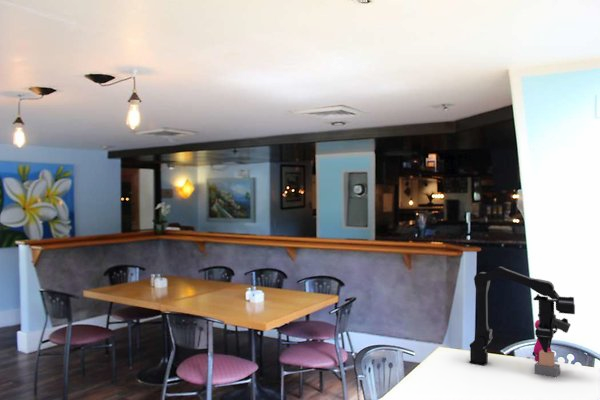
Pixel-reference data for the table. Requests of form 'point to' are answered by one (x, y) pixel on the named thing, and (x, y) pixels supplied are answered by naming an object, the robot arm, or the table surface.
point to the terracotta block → (546, 358)
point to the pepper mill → (538, 345)
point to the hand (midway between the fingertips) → (547, 349)
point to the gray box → (547, 370)
